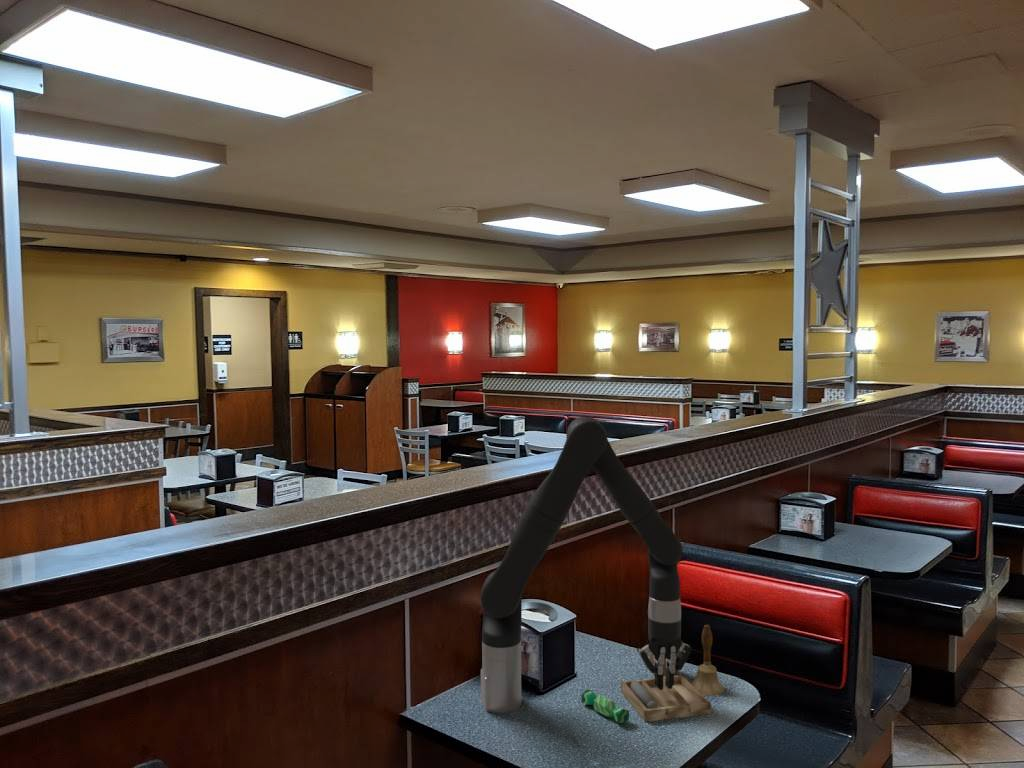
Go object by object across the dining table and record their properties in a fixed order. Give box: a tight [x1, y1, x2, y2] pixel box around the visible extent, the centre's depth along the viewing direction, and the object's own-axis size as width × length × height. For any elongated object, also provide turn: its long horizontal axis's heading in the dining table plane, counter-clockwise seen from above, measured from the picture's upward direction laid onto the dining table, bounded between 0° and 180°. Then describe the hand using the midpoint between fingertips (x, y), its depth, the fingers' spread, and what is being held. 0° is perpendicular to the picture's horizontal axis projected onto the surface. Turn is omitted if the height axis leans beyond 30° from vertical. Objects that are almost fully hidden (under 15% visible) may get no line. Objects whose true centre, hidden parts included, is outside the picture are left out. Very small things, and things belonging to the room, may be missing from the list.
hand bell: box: [690, 624, 725, 696], centre depth 182 cm, size 8×8×16 cm
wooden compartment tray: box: [620, 674, 712, 723], centre depth 175 cm, size 16×15×2 cm
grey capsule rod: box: [631, 681, 658, 709], centre depth 174 cm, size 2×12×2 cm, turn 13°
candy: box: [581, 688, 630, 725], centre depth 170 cm, size 12×3×4 cm, turn 37°
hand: (664, 687), depth 175 cm, fingers closed
